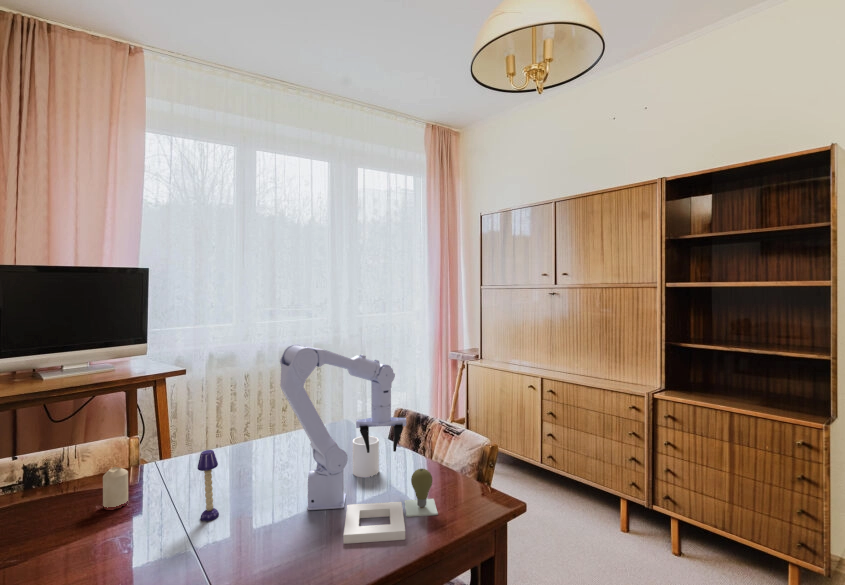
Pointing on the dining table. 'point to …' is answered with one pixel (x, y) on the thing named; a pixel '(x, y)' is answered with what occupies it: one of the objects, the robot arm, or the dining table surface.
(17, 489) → the dining table surface
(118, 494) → the candle
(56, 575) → the dining table surface
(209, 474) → the toy lamp
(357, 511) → the socket block
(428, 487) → the light bulb
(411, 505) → the rubber pad
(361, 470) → the cup
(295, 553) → the dining table surface
